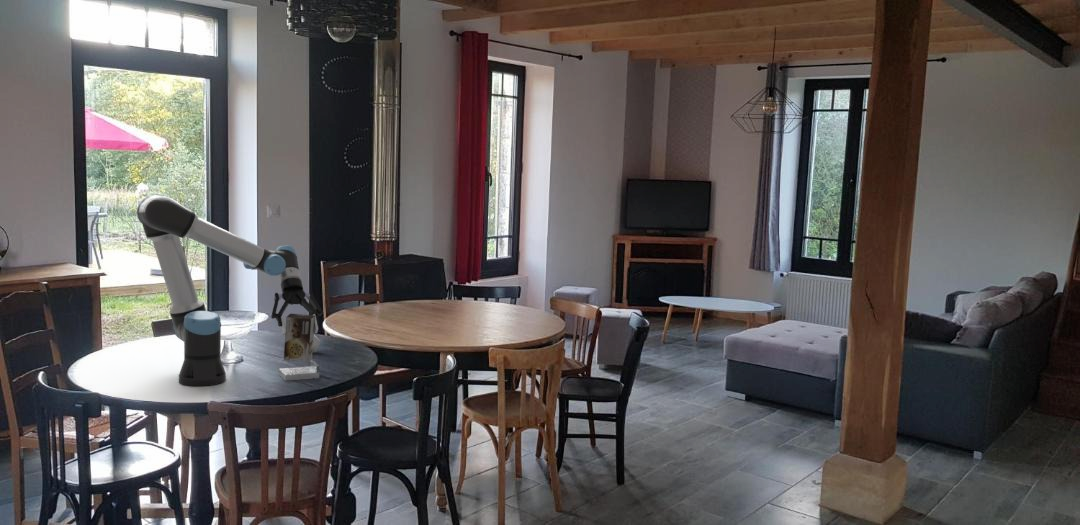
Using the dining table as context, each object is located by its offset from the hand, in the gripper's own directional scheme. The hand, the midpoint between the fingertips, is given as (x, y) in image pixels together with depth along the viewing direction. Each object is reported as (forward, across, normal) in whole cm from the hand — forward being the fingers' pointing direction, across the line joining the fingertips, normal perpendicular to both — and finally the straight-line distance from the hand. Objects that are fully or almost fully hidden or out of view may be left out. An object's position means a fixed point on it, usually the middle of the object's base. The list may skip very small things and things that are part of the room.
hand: (300, 332), depth 300 cm
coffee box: (+6, -1, +8) cm, 11 cm away
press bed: (+11, 0, +12) cm, 16 cm away
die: (-15, +12, +38) cm, 43 cm away
